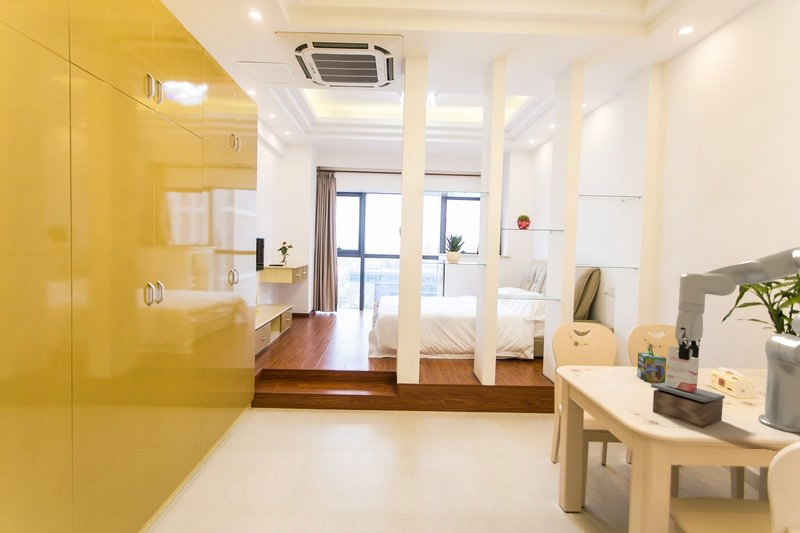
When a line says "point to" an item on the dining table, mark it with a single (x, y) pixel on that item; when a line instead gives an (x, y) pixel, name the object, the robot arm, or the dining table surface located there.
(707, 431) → the dining table surface
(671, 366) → the ink cartridge box
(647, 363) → the chalk box
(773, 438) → the dining table surface
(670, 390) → the lid
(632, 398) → the dining table surface
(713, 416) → the box
